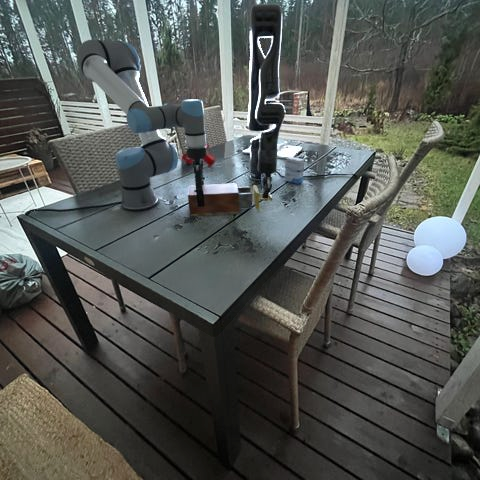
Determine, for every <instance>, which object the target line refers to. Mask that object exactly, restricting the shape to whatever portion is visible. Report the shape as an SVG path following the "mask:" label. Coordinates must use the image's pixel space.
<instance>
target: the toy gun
mask: <svg viewBox="0 0 480 480" xmlns="http://www.w3.org/2000/svg"><path fill="white" fill-rule="evenodd" d="M205 146H206V148H207V150H208V149H209V148H210V145H209V144H208V142H207V141H206V145H205ZM181 158H182V159H183V161H184V162H185V164H186V165H189V164H191V163H193V161H194V159H190V158H188V157H187V151H186V152H185V153H184V154H183V155H181ZM201 160H203V162H205V163H206V164H207V165H208V167H210V166H212V165H214V164H215V163H216V162H215V161H216V158H215V156H213V155H212V154H210V153H209V152H208V151H207V156H206V157H205V158H201Z"/></svg>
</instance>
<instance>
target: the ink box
mask: <svg viewBox="0 0 480 480" xmlns="http://www.w3.org/2000/svg"><path fill="white" fill-rule="evenodd" d="M305 162H306V159H304V158H299V157H296V156H294V157H289V158H287V159H286V158H285V169H284V176H285V178H284V181H285V182H289V183H293V184H295V185H298V184H300V183H302V182H303V180H304V178H303V176H304V173H305V171H304V170H305Z"/></svg>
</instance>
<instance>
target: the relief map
mask: <svg viewBox="0 0 480 480" xmlns="http://www.w3.org/2000/svg"><path fill="white" fill-rule="evenodd" d="M302 147H303V146H294V145H292V144H290V143H289V142H288V141H284V142H282V143H280V144H279V143H278V147H277V153H278V155H277V159H285V160H286V159H287V158H289V157H296V156H297V155H298V154H299V153H300V152H302V151H303V150H304V148H303V149H302ZM250 148H251V145H250V146H249V147H248V148H247V149H245V150H242V153H243V154H247V155H248V154H249V155H250ZM296 153H297V154H296Z"/></svg>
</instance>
